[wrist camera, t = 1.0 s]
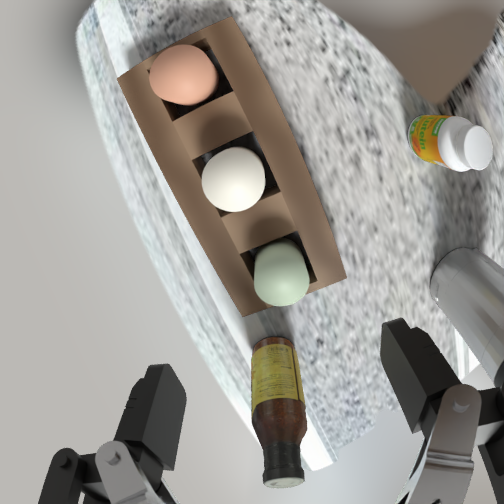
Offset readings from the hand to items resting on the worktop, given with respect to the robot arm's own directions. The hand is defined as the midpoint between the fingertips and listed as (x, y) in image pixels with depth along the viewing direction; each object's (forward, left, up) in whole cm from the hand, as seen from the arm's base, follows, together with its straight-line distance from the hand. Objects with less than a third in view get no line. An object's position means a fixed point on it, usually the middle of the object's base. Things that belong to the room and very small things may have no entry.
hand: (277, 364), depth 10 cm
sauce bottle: (+7, +19, -22) cm, 30 cm away
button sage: (+1, +5, -20) cm, 21 cm away
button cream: (+1, -5, -20) cm, 20 cm away
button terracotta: (+1, -15, -20) cm, 25 cm away
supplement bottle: (-20, -1, -22) cm, 30 cm away
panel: (+1, -5, -22) cm, 22 cm away
